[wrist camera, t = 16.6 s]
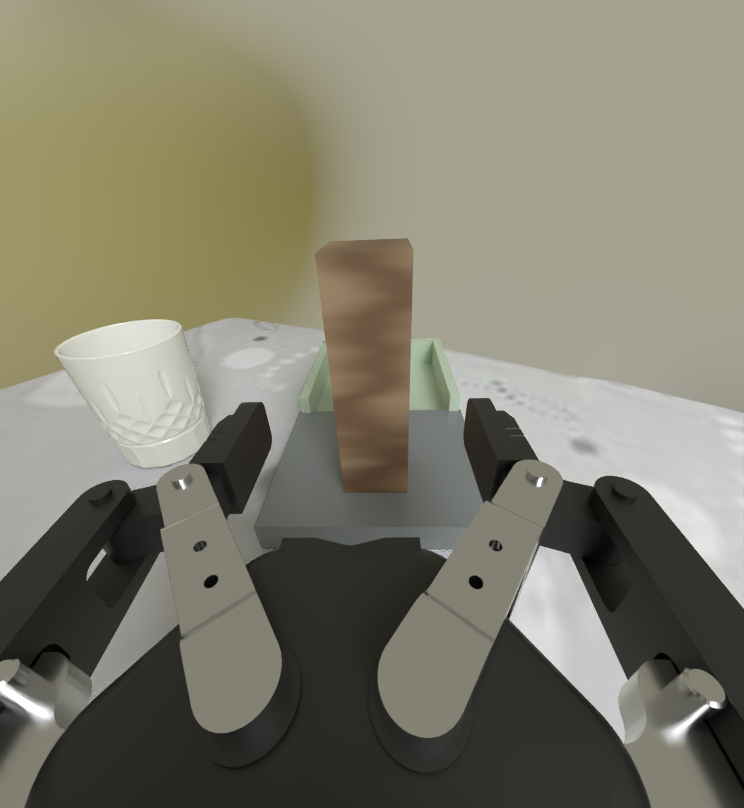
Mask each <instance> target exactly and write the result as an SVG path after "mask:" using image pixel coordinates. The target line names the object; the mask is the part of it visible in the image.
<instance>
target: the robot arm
mask: <svg viewBox="0 0 744 808" xmlns="http://www.w3.org/2000/svg"><path fill="white" fill-rule="evenodd" d="M463 439H464V446H465V449H466V452H467V455H468V458H469V461H470V464H471V468H472V471H473V474H474V477H475V480H476V483H477V486H478V489H479V492H480V495H481V498H482V501H483V505H482V506H481V508H480V510H479V511H478V513H477V514H476V516H475V517H474V519H473V520H472V522H471V523H470V525H469V527H468V528H467V530H466V531H465V533H464V534H463V536H462V537H461V539H460V541H459V542H458V544H457V545H456V547H455V548H454V550H453V551H452V553H451V554H450V556H449V558H448V559H446V558H444V557H442V556H440V555H438V554H436V553H434V552H431V551H429V550H425V549H422V548H421V544H420V537H385V538H381V539H377V540H372V541H368V542H364V543H360V544H356V545H344V544H340V543H336V542H332V541H328V540H324V539H320V538H282V541H281V545H280V548H279V549H277V550H274V551H271V552H268V553H266V554H264V555H262V556H259V557H258V558H256V559H254V560H253V561H251V562H250V563H248V564H247V565H245V564H244V561H243V559H242V557H241V554H240V552H239V550H238V547H237V545H236V542H235V540H234V538H233V535H232V533H231V531H230V528H229V526H228V523H227V521H226V519H227V517H228V515H229V514H242V512H243V510H244V508H245V506H246V503H247V501H248V499H249V497H250V494H251V492H252V490H253V487H254V485H255V483H256V481H257V478H258V476H259V474H260V472H261V469H262V467H263V465H264V462H265V460H266V458H267V456H268V453H269V451H270V449H271V444H272V435H271V431H270V427H269V423H268V419H267V415H266V411H265V407H264V405H263V403H262V402H246V403H241V404H240V405H239V407H238V408H237V410H236V411H235V413H234V414H233V415H228V416H227V417H226V418H224V419H223V420H222V421H220V422H219V423H218V424H217V425H216V427H215V428H214V429H213V431H212V433H210V435H209V436H208V438H207V441H205V442H204V443H203V445H202V446H201V447H200V449H199V450H198V452H197V453H196V454H195V456H194V457H193V458H192V460H191V461H190V463H189V464H185V465H181V466H179V467H176V468H174V469H172V470H170V471H169V472H167V473H166V474H164V475H163V476H162V477H161V478H160V480H159V481H158V483H157V485H155V486H150V487H146V488H142V489H138V490H133V491H131V489H130V488H129V486H128V484H127V483H126V482H125V481H121V480H112V481H107V482H104V483H101V484H98V485H96V486H94V487H92V488H90V489H89V490H87V491H86V492H84V493H83V494H82V495H81V496H80V497H79V498H78V499H77V500H76V501H75V502H74V503H73V504H72V505H71V506H70V507H69V508H68V509H67V510H66V511H65V513H64V514H63V515H62V516H61V517H60V518H59V519H58V520H57V521H56V522H55V523H54V524H53V525H52V527H51V528H50V529H49V530H48V531H47V532H46V533H45V534H44V535H43V536H42V537H41V538H40V539H39V540H38V542H37V543H36V544H35V545H34V546H33V547H32V548H31V549H30V550H29V551H28V552H27V553H26V554H25V556H24V557H23V558H22V559H21V560H20V561H19V562H18V563H17V564H16V565H15V566H14V567H13V568H12V570H11V571H10V572H9V573H8V574H7V575H6V576H5V577H4V578H3V579H2V580H1V581H0V808H744V609H743V607H742V606H741V605H740V604H739V603H738V601H737V600H736V599H735V598H734V596H733V595H732V594H731V593H730V591H729V590H728V589H727V588H726V587H725V585H724V584H723V583H722V582H721V580H720V579H719V578H718V577H717V576H716V574H715V573H714V572H713V571H712V569H711V568H710V567H709V566H708V564H707V563H706V562H705V561H704V560H703V558H702V557H701V556H700V555H699V553H698V552H697V551H696V550H695V549H694V547H693V546H692V545H691V544H690V542H689V541H688V540H687V539H686V537H685V536H684V535H683V534H682V533H681V531H680V530H679V529H678V528H677V526H676V525H675V524H674V523H673V522H672V520H671V519H670V518H669V517H668V515H667V514H666V513H665V512H664V510H663V509H662V508H661V507H660V506H659V504H658V503H657V502H656V501H655V499H654V498H653V497H652V496H651V495H650V493H649V492H648V491H646V490H645V489H644V488H643V487H641V486H640V485H638V484H636V483H635V482H632V481H630V480H628V479H625V478H621V477H617V476H604V477H601V478H599V479H597V480H596V482H595V484H594V487H592V486H587V485H582V484H578V483H573V482H569V481H566V480H563V479H562V476H561V475H560V473H559V472H558V471H557V470H556V469H555V468H553V467H552V466H550V465H548V464H546V463H544V462H541V461H539V460H538V458H537V456H536V455H535V453H534V451H533V449H532V448H531V446H530V444H529V443H528V441H527V439H526V438H525V437H524V434H523V433H522V431H521V429H519V426H518V424H517V422H516V421H515V419H514V418H513V417H512V416H510V415H509V414H508V413H506V412H505V411H496V409H495V407H494V405H493V403H492V402H491V400H490V399H489V398H470V399H469V400H468V402H467V409H466V417H465V424H464V432H463ZM540 546H544V547H547V548H551V549H555V550H558V551H562V552H566V553H569V554H570V555H571V557H572V559H573V561H574V563H575V566H576V568H577V570H578V572H579V574H580V576H581V579H582V581H583V583H584V585H585V587H586V590H587V592H588V594H589V596H590V598H591V601H592V603H593V605H594V607H595V609H596V612H597V614H598V616H599V618H600V620H601V622H602V625H603V627H604V629H605V631H606V633H607V636H608V638H609V640H610V642H611V644H612V647H613V649H614V651H615V653H616V655H617V657H618V660H619V662H620V664H621V666H622V668H623V671H624V673H625V675H626V677H627V679H628V681H627V682H626V683H625V684H624V685H623V686H622V688H621V690H620V692H619V698H618V703H619V709H620V713H621V716H622V720H623V723H624V729H625V742H624V744H623V743H622V741H621V739H620V738H619V736H618V735H617V733H616V732H615V731H614V729H613V728H612V727H611V725H610V724H609V723H608V722H607V720H606V719H605V718H604V717H603V716H602V715H601V714H600V712H599V711H598V710H597V709H596V708H595V707H594V706H593V705H592V704H591V703H590V702H589V701H588V700H587V699H586V698H585V697H584V696H583V695H582V694H581V693H580V692H579V691H578V690H577V689H576V688H575V687H574V686H573V685H572V684H571V683H570V682H569V681H568V680H567V679H566V677H565V676H564V675H563V674H562V673H561V672H560V671H559V670H558V669H557V668H556V667H555V666H554V665H553V664H552V663H551V662H550V661H549V660H548V659H547V658H546V657H545V656H544V655H543V654H542V653H541V652H540V651H539V650H538V649H537V648H536V647H535V646H534V645H533V644H532V643H531V642H530V641H529V640H528V639H527V638H526V636H525V635H524V634H523V633H522V632H521V631H520V630H519V629H518V628H517V627H516V626H515V625H514V624H513V623H512V622H511V621H510V618H511V615H512V613H513V611H514V608H515V605H516V603H517V600H518V598H519V595H520V593H521V590H522V588H523V585H524V583H525V581H526V578H527V576H528V573H529V571H530V569H531V566H532V564H533V561H534V559H535V557H536V554H537V552H538V549H539V547H540ZM102 548H103V549H104V550H105V552H106V555H105V556H104V558H103V559H102V560H101V562H100V563H99V565H98V566H97V568H96V569H95V570H94V572H93V573H92V575H91V576H90V577H89V579H88V580H86V576H87V571H88V568H89V566H90V565H91V563H92V562H93V561H94V559H95V558H96V556H97V555H98V554H99V552H100V551H101V550H102ZM163 551H164V552H165V557H166V562H167V566H168V571H169V576H170V581H171V586H172V591H173V596H174V601H175V606H176V611H177V616H178V621H179V624H178V625H177V626H176V627H175V628H174V629H173V630H172V631H170V632H169V633H168V634H167V635H166V636H165V637H164V638H163V639H161V640H160V641H159V642H158V643H157V644H156V645H155V646H154V647H152V648H151V649H150V650H149V651H148V652H147V653H146V654H145V655H143V656H142V657H141V658H140V659H139V660H138V661H137V662H136V663H134V664H133V665H132V666H131V667H130V668H129V669H128V670H127V671H125V672H124V673H123V674H122V675H121V676H120V677H119V678H118V679H116V680H115V681H114V682H113V683H112V684H111V685H110V686H108V687H107V688H106V689H105V690H104V691H103V692H102V693H101V694H99V695H98V696H97V697H96V698H95V699H94V700H93V701H92V702H91V703H90V704H89V705H87V704H88V702H89V700H90V696H91V692H92V682H91V679H90V677H91V675H92V673H93V671H94V670H95V668H96V666H97V664H98V662H99V661H100V659H101V657H102V655H103V654H104V652H105V650H106V648H107V646H108V645H109V643H110V641H111V639H112V637H113V636H114V634H115V632H116V630H117V628H118V627H119V625H120V623H121V621H122V619H123V618H124V616H125V614H126V612H127V610H128V609H129V607H130V605H131V603H132V602H133V600H134V598H135V596H136V594H137V593H138V591H139V589H140V587H141V585H142V584H143V582H144V580H145V578H146V576H147V575H148V573H149V571H150V569H151V567H152V566H153V564H154V562H155V560H156V558H157V557H158V555H159V553H160V552H163Z"/></svg>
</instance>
